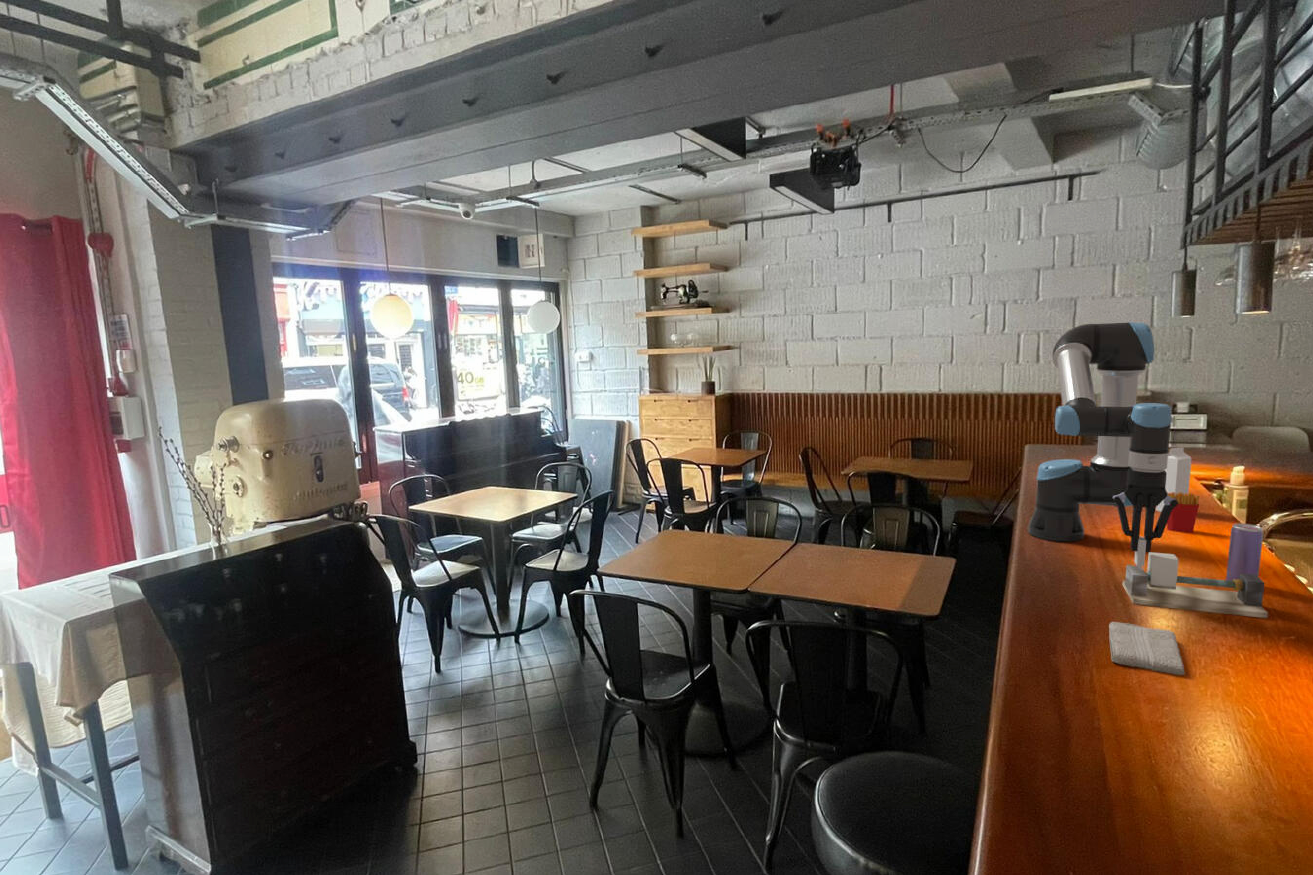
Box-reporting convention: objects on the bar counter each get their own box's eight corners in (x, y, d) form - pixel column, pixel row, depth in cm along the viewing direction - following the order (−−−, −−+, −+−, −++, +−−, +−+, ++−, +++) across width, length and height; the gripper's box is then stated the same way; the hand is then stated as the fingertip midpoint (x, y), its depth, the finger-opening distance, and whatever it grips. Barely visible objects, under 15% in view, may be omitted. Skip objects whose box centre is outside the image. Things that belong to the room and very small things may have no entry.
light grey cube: (1150, 587, 164) (1152, 557, 162) (1146, 581, 167) (1148, 552, 166) (1175, 589, 162) (1178, 559, 160) (1171, 583, 165) (1173, 554, 164)
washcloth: (1172, 640, 145) (1174, 626, 144) (1186, 679, 130) (1188, 664, 129) (1106, 629, 151) (1107, 616, 150) (1111, 666, 136) (1112, 651, 135)
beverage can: (1250, 591, 166) (1256, 532, 164) (1220, 583, 172) (1226, 525, 169) (1261, 585, 169) (1268, 527, 166) (1232, 578, 174) (1239, 521, 172)
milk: (1186, 513, 229) (1193, 448, 225) (1172, 515, 227) (1179, 450, 224) (1168, 508, 235) (1175, 445, 231) (1155, 510, 233) (1161, 447, 229)
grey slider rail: (1133, 603, 162) (1135, 575, 161) (1122, 585, 173) (1124, 558, 172) (1267, 618, 152) (1270, 588, 151) (1247, 597, 163) (1250, 569, 162)
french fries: (1195, 530, 212) (1199, 492, 210) (1196, 533, 209) (1200, 495, 207) (1161, 526, 216) (1164, 489, 214) (1162, 530, 213) (1165, 492, 211)
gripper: (1117, 470, 161) (1110, 566, 165) (1185, 474, 155) (1176, 572, 159) (1111, 464, 167) (1104, 556, 171) (1176, 467, 162) (1167, 561, 166)
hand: (1139, 564), depth 165 cm, fingers closed
